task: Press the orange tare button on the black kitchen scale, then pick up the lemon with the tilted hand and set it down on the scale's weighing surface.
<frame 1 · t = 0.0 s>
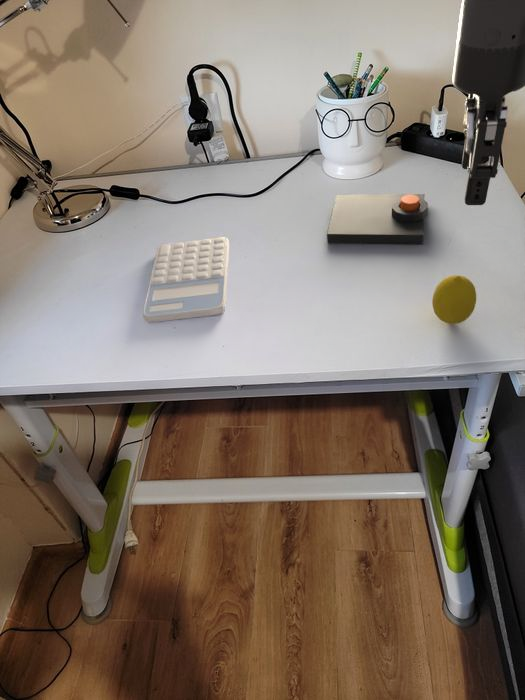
hand: (472, 184, 61), 19 cm above the table, tool pointing down, fingers open, 8 cm apart
lemon: (450, 322, 72), on the table
tare button: (409, 203, 87), point 4 cm above the table, slide at 0.2 cm
calculator: (190, 281, 87), on the table
scale: (376, 222, 91), on the table
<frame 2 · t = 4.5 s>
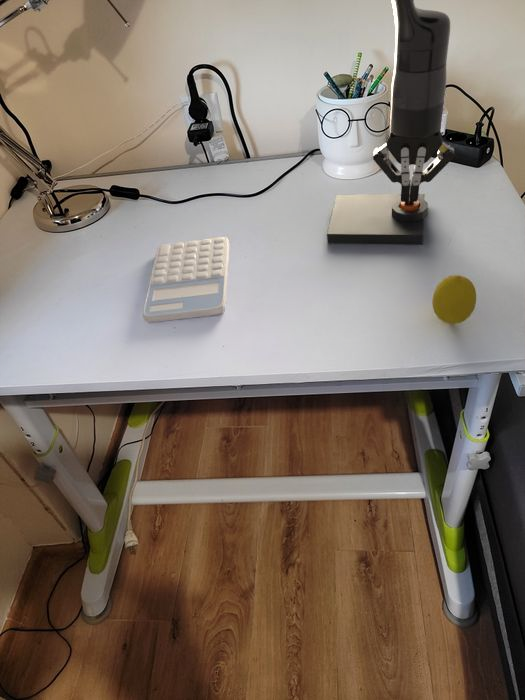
hand: (409, 202, 87), 4 cm above the table, tool pointing down, fingers closed
tare button: (409, 206, 87), point 3 cm above the table, slide at -0.5 cm, touching gripper
everything else where it was.
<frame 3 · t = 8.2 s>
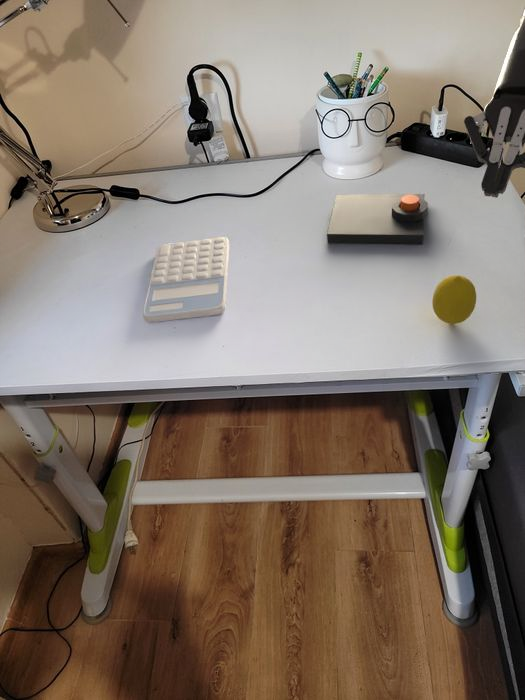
hand: (490, 195, 67), 14 cm above the table, tool tilted 45°, fingers closed
tare button: (409, 203, 87), point 4 cm above the table, slide at 0.1 cm
everything else where it was.
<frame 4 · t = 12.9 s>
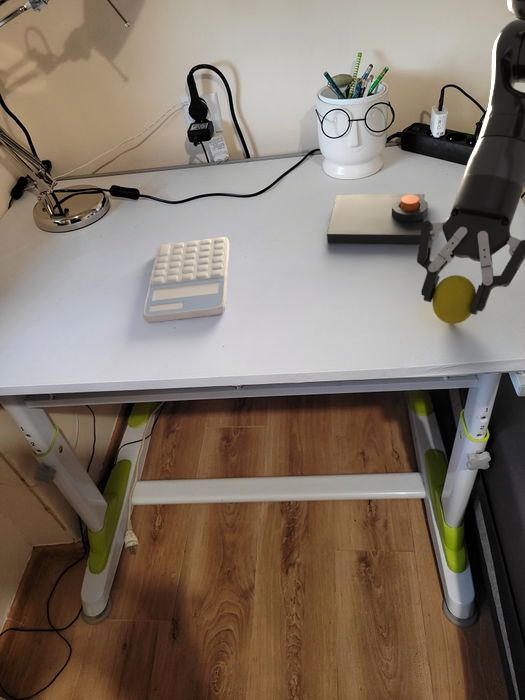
hand: (450, 306, 68), 4 cm above the table, tool tilted 45°, fingers closed on lemon, 5 cm apart
lemon: (450, 322, 72), on the table, touching gripper
everything else where it was.
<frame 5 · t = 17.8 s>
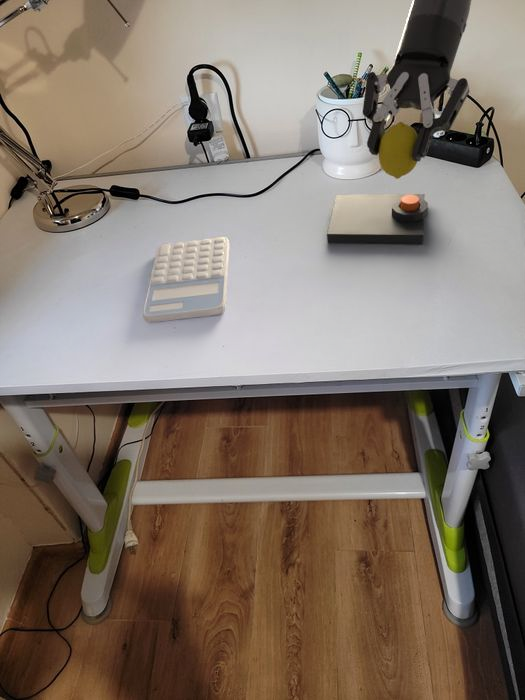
hand: (394, 155, 69), 18 cm above the table, tool tilted 45°, fingers closed on lemon, 5 cm apart
lemon: (397, 179, 74), point 14 cm above the table, touching gripper
everything else where it was.
when the fingers open (6 cm above the table, at t = 23.1 s): lemon stays where it is, resting on scale.
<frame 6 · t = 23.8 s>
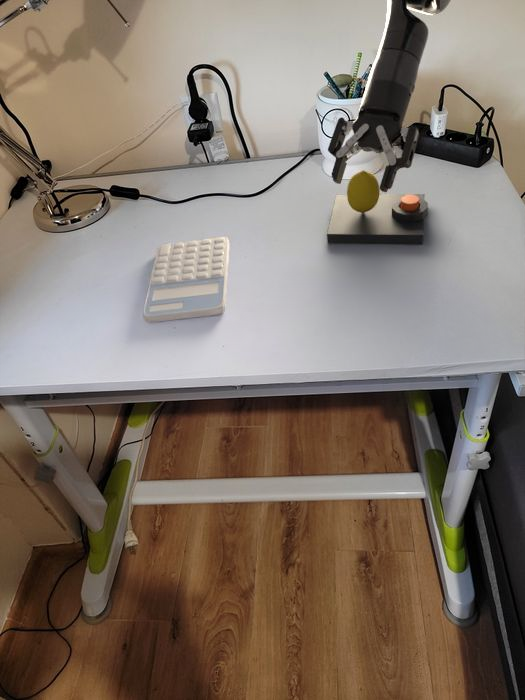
hand: (359, 186, 85), 8 cm above the table, tool tilted 45°, fingers open, 8 cm apart
lemon: (363, 214, 91), point 2 cm above the table, touching scale
everything else where it was.
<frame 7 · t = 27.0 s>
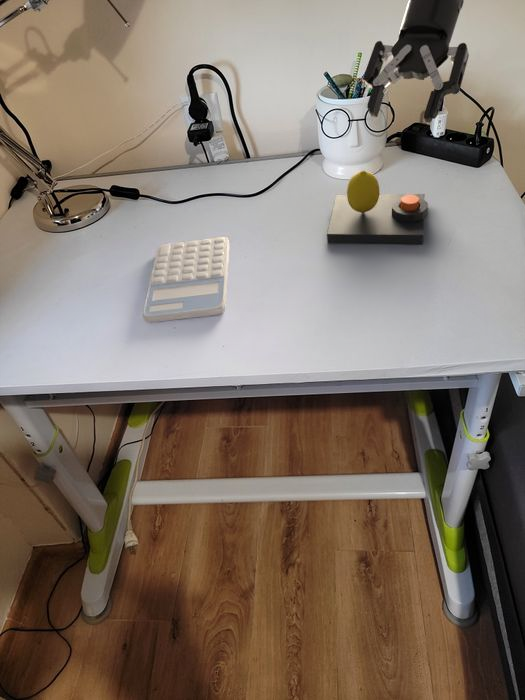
hand: (399, 117, 76), 19 cm above the table, tool tilted 45°, fingers open, 8 cm apart
nothing on the table moved.
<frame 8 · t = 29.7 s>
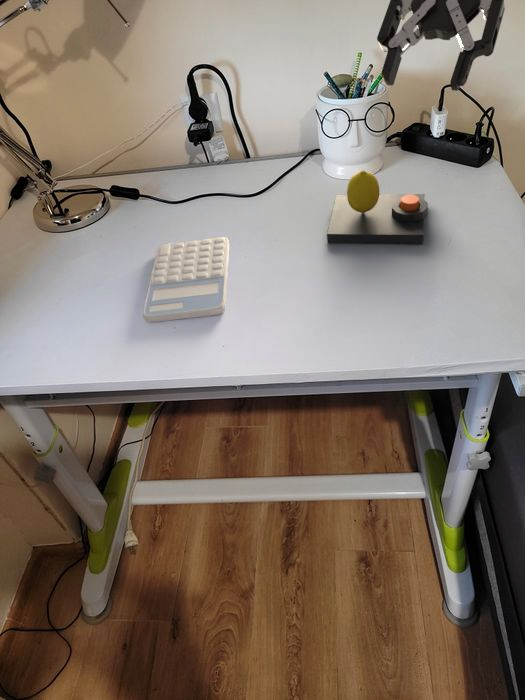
hand: (420, 85, 64), 27 cm above the table, tool tilted 45°, fingers open, 8 cm apart
nothing on the table moved.
at the end: tare button pushed in 0.9 cm at the most during the clip, back to where it started at the end; lemon inside the target area on the scale (0.1 cm from its centre), point 1.7 cm above the scale's base; lemon touching scale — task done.
